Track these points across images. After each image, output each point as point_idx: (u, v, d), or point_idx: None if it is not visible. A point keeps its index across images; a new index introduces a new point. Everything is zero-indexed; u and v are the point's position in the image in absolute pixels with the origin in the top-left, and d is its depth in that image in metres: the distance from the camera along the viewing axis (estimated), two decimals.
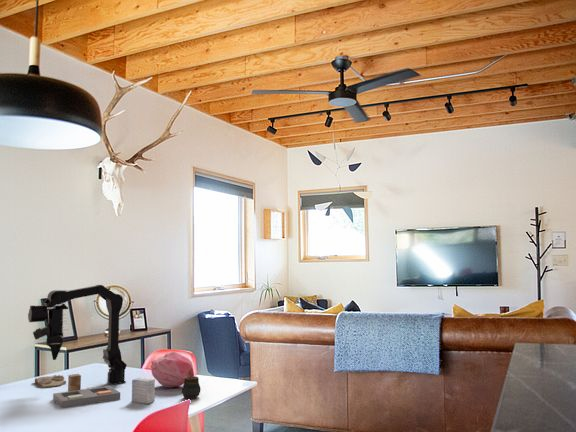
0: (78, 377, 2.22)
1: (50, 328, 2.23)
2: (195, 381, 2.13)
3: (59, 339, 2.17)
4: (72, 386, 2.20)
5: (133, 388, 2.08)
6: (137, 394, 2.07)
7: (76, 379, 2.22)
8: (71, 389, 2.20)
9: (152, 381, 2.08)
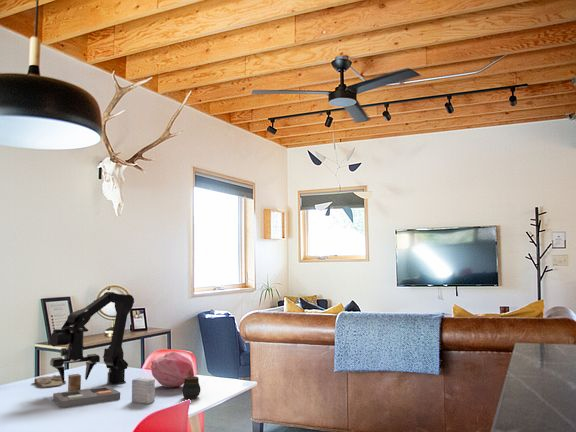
0: (78, 377, 2.22)
1: None
2: (195, 381, 2.13)
3: (52, 362, 2.17)
4: (72, 386, 2.20)
5: (133, 388, 2.08)
6: (137, 394, 2.07)
7: (76, 379, 2.22)
8: (71, 389, 2.20)
9: (152, 381, 2.08)
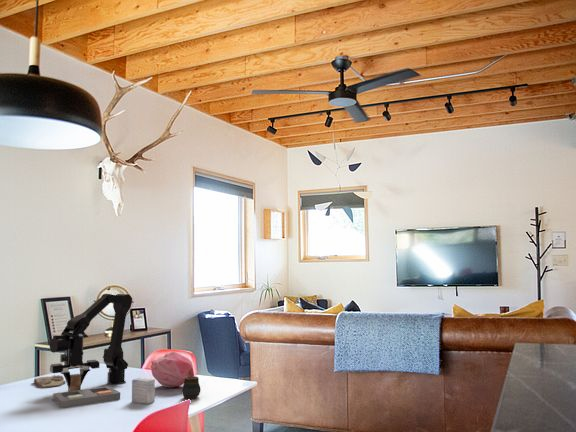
0: (78, 377, 2.22)
1: None
2: (195, 381, 2.13)
3: (52, 368, 2.16)
4: (72, 386, 2.20)
5: (133, 388, 2.08)
6: (137, 394, 2.07)
7: (76, 379, 2.22)
8: (71, 389, 2.20)
9: (152, 381, 2.08)
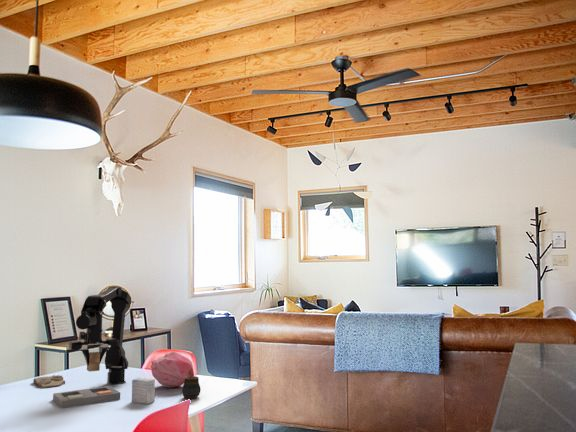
0: (97, 355, 2.17)
1: None
2: (195, 381, 2.13)
3: (71, 345, 2.12)
4: (91, 364, 2.16)
5: (133, 388, 2.08)
6: (137, 394, 2.07)
7: (95, 357, 2.17)
8: (90, 367, 2.16)
9: (152, 381, 2.08)
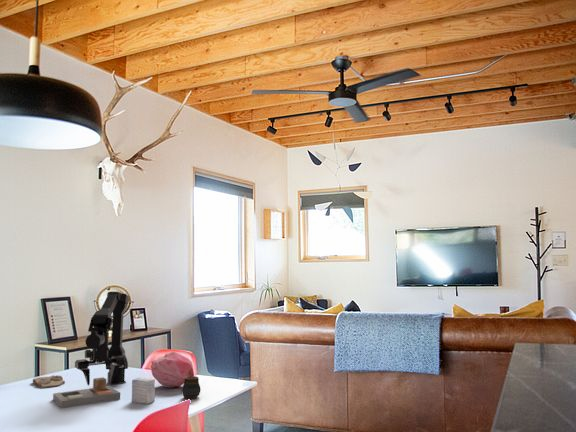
0: (103, 381, 2.15)
1: None
2: (195, 381, 2.13)
3: (77, 364, 2.10)
4: (97, 390, 2.14)
5: (133, 388, 2.08)
6: (137, 394, 2.07)
7: (102, 383, 2.15)
8: None
9: (152, 381, 2.08)
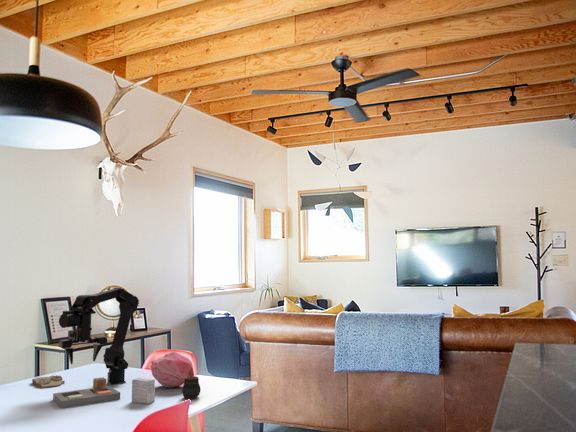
0: (103, 381, 2.15)
1: None
2: (195, 381, 2.13)
3: (61, 344, 2.18)
4: (97, 390, 2.14)
5: (133, 388, 2.08)
6: (137, 394, 2.07)
7: (102, 383, 2.15)
8: None
9: (152, 381, 2.08)
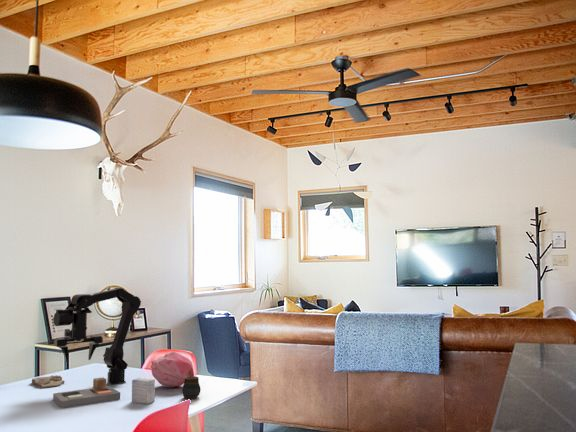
0: (103, 381, 2.15)
1: None
2: (195, 381, 2.13)
3: (56, 342, 2.21)
4: (97, 390, 2.14)
5: (133, 388, 2.08)
6: (137, 394, 2.07)
7: (102, 383, 2.15)
8: None
9: (152, 381, 2.08)
